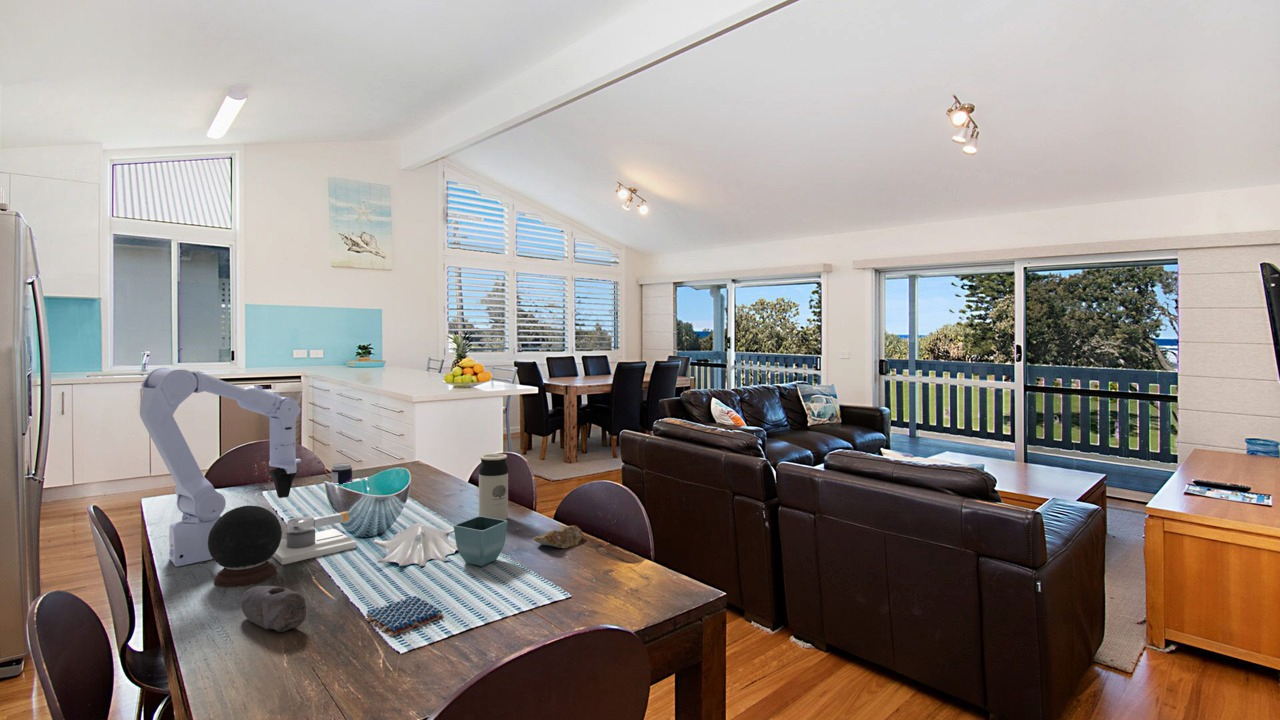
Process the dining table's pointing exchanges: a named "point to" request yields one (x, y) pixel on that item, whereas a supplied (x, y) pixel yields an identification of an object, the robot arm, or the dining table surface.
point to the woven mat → (403, 615)
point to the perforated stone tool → (274, 607)
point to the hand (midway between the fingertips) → (283, 497)
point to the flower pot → (480, 539)
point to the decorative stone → (561, 537)
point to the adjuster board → (312, 545)
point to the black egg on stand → (244, 546)
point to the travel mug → (493, 486)
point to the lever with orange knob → (314, 522)
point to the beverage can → (341, 473)
